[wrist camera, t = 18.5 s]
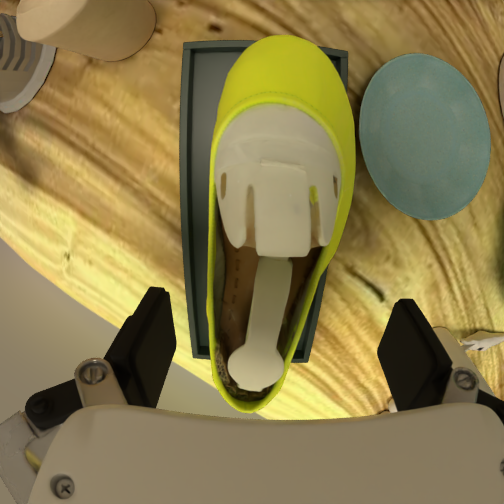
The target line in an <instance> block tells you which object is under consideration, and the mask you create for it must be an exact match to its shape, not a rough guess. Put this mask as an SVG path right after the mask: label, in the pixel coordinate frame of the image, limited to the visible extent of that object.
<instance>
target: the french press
mask: <svg viewBox="0 0 504 504" xmlns="http://www.w3.org/2000/svg"><path fill="white" fill-rule="evenodd" d="M16 19H17V17H16V16H9V15H7V14H2V13H1V14H0V30H1V31H2V32H3V35H4V37H0V110H1V111H2V112H4V113H9V112H15V111H18V110H19V109H20V108H22V107H23V106H24V105H26V104H27V103H28V102H29V101H31V99H32V98H33V96H34V95H35V94H36V92H37V91H38V90H39V88H40V87H41V86H42V84H43V83H44V80H45V78H46V76H47V74H48V71H49V69H50V67H51V65H52V63H53V59H54V54H55V50H56V47H53V46H49V45H45V44H41V43H36V42H32V41H27V40H25V39H23V38H22V37H21V36H20V35H19V33H18V30H17V22H16Z"/></svg>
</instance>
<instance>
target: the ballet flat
mask: <svg viewBox="0 0 504 504" xmlns="http://www.w3.org/2000/svg"><path fill="white" fill-rule="evenodd" d="M355 166H356V154H355V129H354V120H353V115H352V110H351V107H350V103H349V100H348V97H347V94H346V91H345V88H344V85H343V83H342V81H341V78H340V76H339V74H338V72H337V70H336V69H335V67H334V65H333V64H332V62H331V61H330V59H329V58H328V57H327V55H326V54H325V53H324V52H323V51H322V50H321V49H320V48H318V47H317V46H316V45H314V44H313V43H311V42H310V41H307V40H305V39H302V38H299V37H296V36H292V35H275V36H269V37H266V38H263V39H260V40H258V41H257V42H255V43H253V44H252V45H251V46H249V47H248V48H247V49H245V51H244V52H243V53H242V54H241V56H240V57H239V58H238V59H237V61H236V62H235V64H234V65H233V67H232V68H231V70H230V71H229V73H228V75H227V78H226V81H225V85H224V88H223V92H222V95H221V98H220V102H219V106H218V111H217V121H216V124H215V128H214V133H213V139H212V145H211V155H210V180H209V235H208V272H207V303H206V312H207V317H208V323H209V342H210V358H211V368H212V376H213V381H214V383H215V385H216V387H217V389H218V391H219V392H220V394H221V396H222V397H223V398H224V399H225V401H226V402H227V403H228V404H229V405H231V406H232V407H233V408H234V409H236V410H238V411H240V412H243V413H252V412H255V411H258V410H260V409H262V408H263V407H264V406H266V405H267V404H268V403H269V402H270V401H271V400H272V399H273V398H274V397H275V396H276V395H277V394H278V392H279V391H280V389H281V387H282V385H283V382H284V380H285V377H286V375H287V371H288V369H289V366H290V363H291V360H292V358H293V355H294V352H295V350H296V347H297V344H298V342H299V339H300V336H301V333H302V330H303V328H304V325H305V321H306V318H307V315H308V312H309V309H310V306H311V303H312V300H313V297H314V294H315V291H316V288H317V285H318V282H319V279H320V276H321V275H322V273H323V272H324V270H325V269H326V267H327V266H328V264H329V262H330V260H331V259H332V258H333V256H334V254H335V252H336V250H337V248H338V245H339V242H340V239H341V236H342V233H343V230H344V227H345V224H346V221H347V217H348V213H349V209H350V205H351V201H352V196H353V189H354V180H355Z"/></svg>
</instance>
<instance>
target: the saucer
mask: <svg viewBox="0 0 504 504" xmlns="http://www.w3.org/2000/svg"><path fill="white" fill-rule="evenodd" d="M359 140H360V145H361V150H362V154H363V157H364V161H365V164H366V166H367V169H368V171H369V174H370V176H371V178H372V180H373V181H374V183H375V185H376V186H377V188H378V189H379V191H380V192H381V193H382V195H383V196H384V197H385V198H386V199H387V201H388V202H389V203H390V204H391V205H393V206H394V207H395V208H396V209H398V210H400V211H401V212H403V213H404V214H406V215H409V216H411V217H414V218H417V219H422V220H440V219H445V218H448V217H450V216H452V215H455V214H456V213H458V212H460V211H461V210H462V209H464V208H465V207H466V206H467V205H468V204H469V203H470V202H471V201H472V200H473V198H474V197H475V196H476V195H477V193H478V191H479V189H480V188H481V186H482V184H483V182H484V179H485V176H486V173H487V170H488V166H489V161H490V152H491V136H490V128H489V124H488V120H487V116H486V112H485V110H484V107H483V105H482V102H481V100H480V98H479V96H478V94H477V93H476V91H475V89H474V88H473V86H472V85H471V84H470V82H469V81H468V80H467V79H466V78H465V77H464V76H463V75H462V74H461V73H460V72H459V71H458V70H456V68H454V67H453V66H451V65H450V64H449V63H447V62H445V61H443V60H441V59H439V58H437V57H434V56H431V55H428V54H427V55H426V54H421V53H413V54H411V53H410V54H404V55H401V56H398V57H396V58H394V59H391V60H390V61H389V62H387V63H385V64H384V65H383V66H381V68H379V69H378V71H377V72H376V73H375V74H374V75H373V77H372V79H371V81H370V82H369V84H368V86H367V88H366V91H365V93H364V96H363V99H362V103H361V108H360V116H359Z"/></svg>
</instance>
